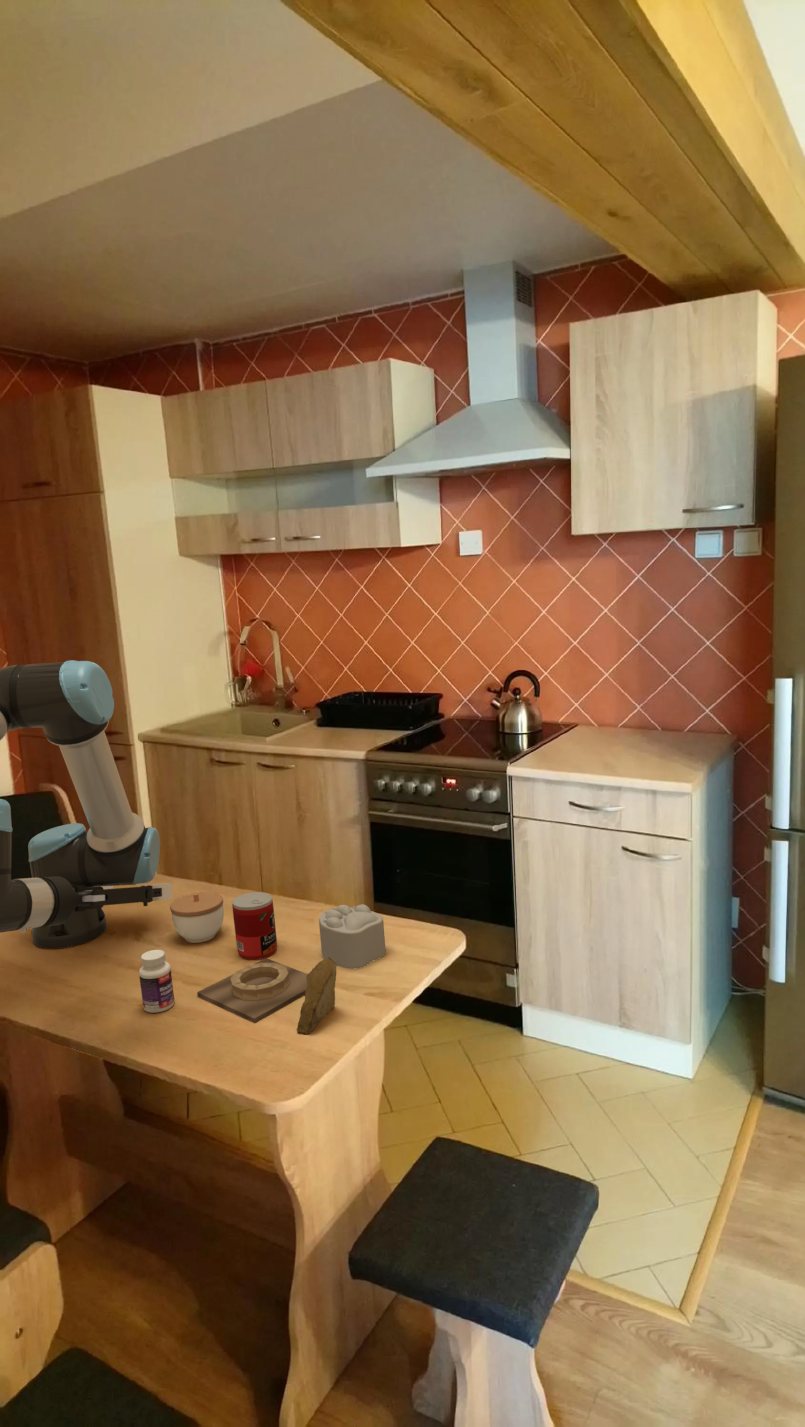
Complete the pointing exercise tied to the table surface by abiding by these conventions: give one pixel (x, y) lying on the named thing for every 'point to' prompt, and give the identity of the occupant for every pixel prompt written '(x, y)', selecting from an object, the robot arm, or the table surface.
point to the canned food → (254, 925)
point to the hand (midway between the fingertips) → (141, 892)
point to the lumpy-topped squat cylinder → (352, 935)
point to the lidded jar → (198, 915)
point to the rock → (318, 995)
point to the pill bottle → (156, 982)
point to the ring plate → (256, 1006)
